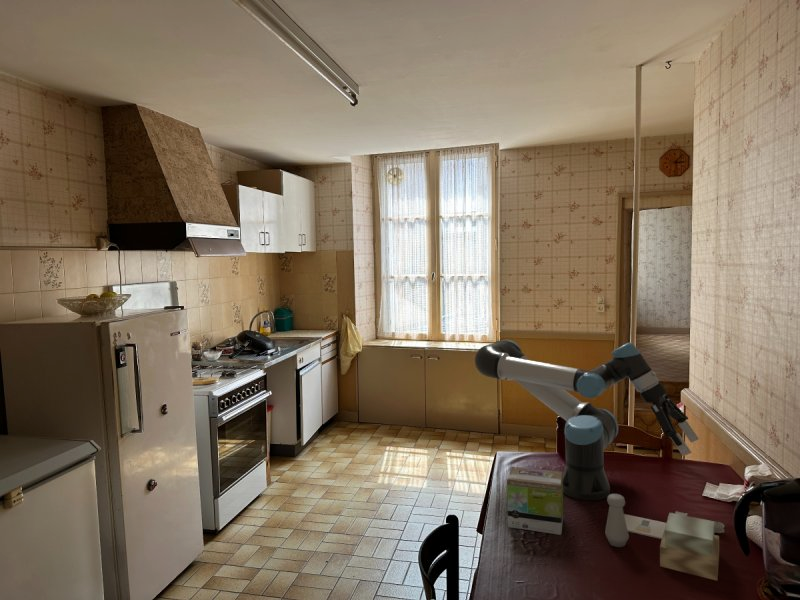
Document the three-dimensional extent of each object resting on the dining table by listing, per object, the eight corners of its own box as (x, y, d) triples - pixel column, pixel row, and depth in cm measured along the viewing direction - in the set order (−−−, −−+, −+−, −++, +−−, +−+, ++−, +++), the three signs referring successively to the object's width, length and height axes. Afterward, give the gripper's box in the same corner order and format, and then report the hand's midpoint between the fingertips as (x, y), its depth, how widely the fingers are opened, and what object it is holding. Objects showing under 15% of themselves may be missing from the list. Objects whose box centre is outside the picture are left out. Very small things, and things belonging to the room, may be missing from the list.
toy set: (674, 527, 146) (673, 514, 145) (676, 522, 148) (675, 509, 148) (724, 538, 138) (723, 524, 138) (725, 532, 141) (725, 519, 141)
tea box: (507, 529, 148) (505, 478, 147) (512, 512, 157) (510, 465, 156) (562, 536, 143) (561, 484, 142) (564, 518, 152) (562, 469, 151)
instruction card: (618, 529, 145) (618, 527, 145) (624, 515, 152) (624, 513, 152) (666, 540, 138) (666, 538, 138) (670, 525, 146) (670, 523, 146)
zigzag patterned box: (660, 566, 127) (659, 530, 126) (665, 542, 137) (665, 510, 136) (717, 580, 120) (717, 543, 120) (719, 555, 130) (718, 520, 130)
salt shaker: (629, 539, 139) (628, 492, 139) (628, 550, 134) (628, 502, 133) (606, 535, 142) (605, 489, 141) (604, 546, 137) (603, 498, 136)
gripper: (650, 390, 155) (695, 455, 149) (668, 374, 175) (708, 430, 169) (628, 401, 160) (672, 465, 154) (648, 384, 179) (687, 439, 173)
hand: (691, 447), depth 161 cm, fingers open, 13 cm apart
